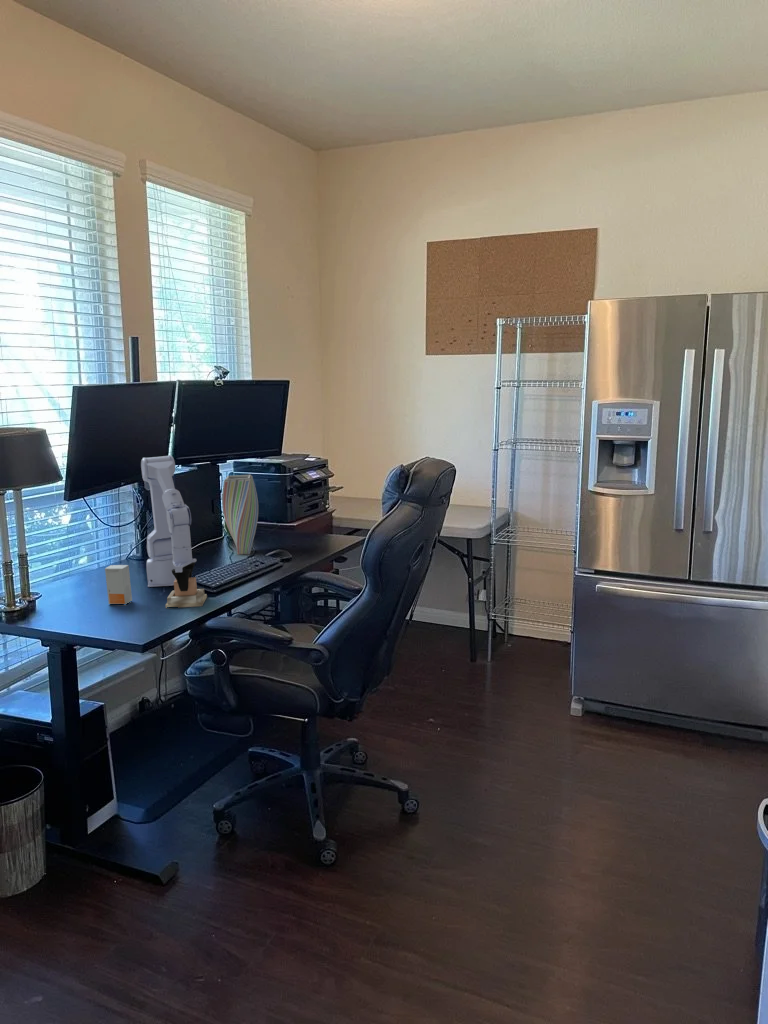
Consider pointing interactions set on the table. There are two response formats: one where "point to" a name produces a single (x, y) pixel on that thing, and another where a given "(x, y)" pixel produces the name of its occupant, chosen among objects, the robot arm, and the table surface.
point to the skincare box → (118, 584)
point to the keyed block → (191, 587)
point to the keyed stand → (186, 599)
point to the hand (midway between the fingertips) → (185, 588)
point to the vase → (240, 510)
